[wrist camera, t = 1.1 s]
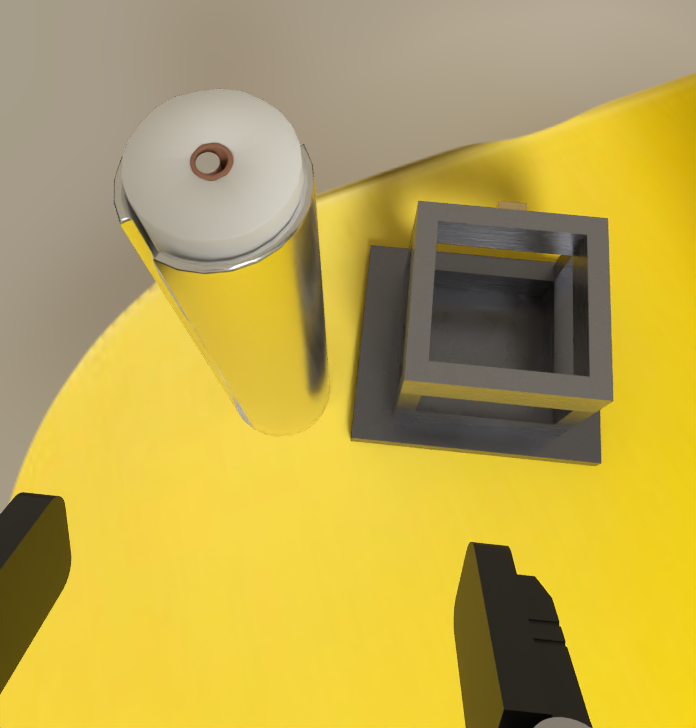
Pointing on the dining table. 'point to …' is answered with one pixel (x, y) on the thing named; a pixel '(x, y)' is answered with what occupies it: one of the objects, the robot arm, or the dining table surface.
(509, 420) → the grey square holder
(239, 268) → the silver long cylinder
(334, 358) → the dining table surface
